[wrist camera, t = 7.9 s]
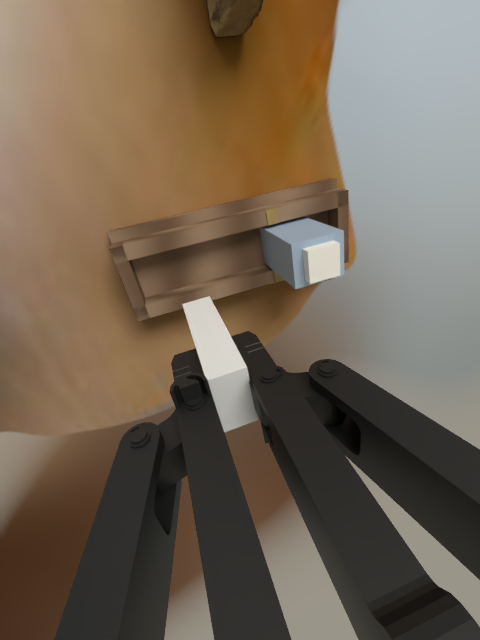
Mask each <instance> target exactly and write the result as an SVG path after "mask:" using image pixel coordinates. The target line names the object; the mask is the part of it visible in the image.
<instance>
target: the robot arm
mask: <svg viewBox="0 0 480 640" xmlns="http://www.w3.org/2000/svg"><path fill="white" fill-rule="evenodd" d="M182 305H183V308H184V312H185V315H186V318H187V321H188V324H189V328H190V331H191V334H192V337H193V341H194V344H195V347H196V349H193V350H190V351H186V352H183V353H180V354H177V355H175V356H174V358H173V360H172V363H171V365H172V370H173V376H174V382H173V384H172V385H171V387H170V394H171V396H172V399H173V401H174V404H175V407H176V410H175V411H174V413H173V414H172V415H171V416H170V417H169V418H168V419H167V420H165V421H164V422H162V423H160V424H159V425H156V424H153V423H150V422H148V423H141V424H138V425H136V426H134V427H132V428H131V429H129V430H128V431H127V433H125V434H124V436H123V437H122V439H121V441H120V444H119V447H118V450H117V453H116V456H115V459H114V462H113V465H112V468H111V471H110V474H109V477H108V480H107V483H106V486H105V489H104V492H103V495H102V498H101V501H100V504H99V507H98V510H97V513H96V516H95V519H94V522H93V525H92V528H91V531H90V534H89V537H88V540H87V543H86V546H85V549H84V552H83V555H82V558H81V561H80V564H79V567H78V570H77V573H76V576H75V579H74V582H73V586H72V588H71V591H70V594H69V597H68V600H67V603H66V606H65V609H64V612H63V615H62V618H61V621H60V624H59V627H58V630H57V633H56V637H55V640H164V635H165V626H166V617H167V608H168V599H169V590H170V581H171V573H172V563H173V554H174V546H175V537H176V528H177V518H178V509H179V501H180V492H181V484H182V483H181V479H182V478H184V477H185V476H186V475H187V476H188V481H189V488H190V494H191V500H192V505H193V512H194V518H195V524H196V531H197V537H198V543H199V548H200V555H201V561H202V567H203V573H204V579H205V585H206V591H207V597H208V604H209V609H210V615H211V622H212V627H213V634H214V640H291V637H290V634H289V631H288V628H287V625H286V622H285V619H284V616H283V612H282V609H281V606H280V603H279V600H278V597H277V594H276V591H275V588H274V585H273V582H272V579H271V575H270V572H269V569H268V566H267V563H266V560H265V557H264V554H263V551H262V548H261V545H260V541H259V538H258V535H257V532H256V529H255V526H254V523H253V520H252V517H251V514H250V511H249V507H248V504H247V501H246V498H245V495H244V492H243V489H242V486H241V483H240V480H239V477H238V474H237V471H236V467H235V464H234V461H233V458H232V455H231V452H230V449H229V446H228V443H227V440H226V436H225V433H224V432H227V431H230V430H232V429H235V428H238V427H240V426H243V425H246V424H249V423H251V422H254V421H257V420H258V416H259V418H260V421H261V425H262V430H263V434H264V439H265V443H269V445H270V448H271V450H272V452H273V454H274V456H275V458H276V461H277V463H278V465H279V467H280V469H281V471H282V474H283V476H284V478H285V480H286V482H287V485H288V487H289V489H290V491H291V493H292V495H293V498H294V500H295V502H296V504H297V506H298V508H299V511H300V513H301V515H302V517H303V519H304V522H305V524H306V526H307V528H308V530H309V532H310V535H311V537H312V539H313V541H314V543H315V546H316V548H317V550H318V552H319V554H320V556H321V559H322V561H323V563H324V565H325V567H326V570H327V572H328V574H329V576H330V578H331V580H332V583H333V585H334V587H335V589H336V591H337V593H338V596H339V598H340V600H341V602H342V604H343V607H344V609H345V611H346V613H347V615H348V617H349V620H350V622H351V624H352V626H353V628H354V630H355V633H356V635H357V637H358V639H359V640H480V627H479V626H478V624H477V623H476V622H475V620H474V619H473V618H472V616H471V615H470V614H469V613H468V611H467V610H466V609H465V608H464V606H463V605H462V604H461V603H460V602H459V601H458V600H457V599H456V598H455V597H454V596H453V595H452V594H451V593H449V592H447V591H445V590H443V589H442V588H440V587H438V586H437V585H436V584H435V583H434V582H433V581H432V579H431V578H430V577H429V575H428V574H427V573H426V571H425V570H424V569H423V567H422V566H421V564H420V563H419V561H418V560H417V559H416V557H415V556H414V554H413V553H412V551H411V550H410V548H409V547H408V546H407V544H406V543H405V541H404V540H403V538H402V537H401V536H400V534H399V533H398V531H397V530H396V528H395V527H394V525H393V524H392V523H391V521H390V520H389V518H388V517H387V515H386V514H385V513H384V511H383V510H382V508H381V507H380V505H379V504H378V502H377V501H376V500H375V498H374V497H373V495H372V494H371V492H370V491H369V490H368V488H367V487H366V485H365V484H364V482H363V481H362V480H361V478H360V477H359V475H358V474H357V472H356V471H355V470H354V468H353V467H352V465H351V464H350V462H349V461H348V459H347V458H346V457H345V455H346V456H347V457H348V458H349V459H350V460H351V461H352V462H353V463H354V464H355V465H356V466H357V467H358V468H360V469H361V470H362V471H363V472H364V473H365V474H366V475H367V476H368V477H369V478H370V479H372V481H374V482H375V483H376V484H377V485H378V486H379V487H380V488H381V489H382V490H383V491H385V493H387V494H388V495H389V496H390V497H391V498H392V499H393V500H394V501H395V502H396V503H397V504H399V505H400V506H401V507H402V508H403V509H404V510H405V511H406V512H407V513H408V514H409V515H410V516H411V517H412V518H414V519H415V520H416V521H417V522H418V523H419V524H420V525H421V526H422V527H423V528H424V529H425V530H426V531H428V532H429V533H430V534H431V535H432V536H433V537H434V538H435V539H436V540H437V541H438V542H439V543H441V544H442V545H443V546H444V547H445V548H446V549H447V550H448V551H449V552H450V553H451V554H452V555H453V556H455V557H456V558H457V559H458V560H459V561H460V562H461V563H462V564H463V565H464V566H466V568H468V569H469V570H470V571H471V572H472V573H473V574H474V575H475V576H476V577H477V578H478V579H480V450H479V449H478V448H476V447H475V446H473V445H471V444H470V443H468V442H467V441H465V440H463V439H462V438H460V437H459V436H457V435H455V434H454V433H452V432H451V431H449V430H447V429H446V428H444V427H442V426H441V425H439V424H438V423H436V422H435V421H433V420H431V419H430V418H428V417H427V416H425V415H424V414H422V413H420V412H419V411H417V410H416V409H414V408H412V407H411V406H409V405H408V404H406V403H404V402H403V401H401V400H400V399H398V398H396V397H395V396H393V395H392V394H390V393H388V392H387V391H385V390H384V389H382V388H380V387H379V386H377V385H376V384H374V383H372V382H371V381H369V380H367V379H366V378H365V377H363V376H361V375H360V374H358V373H357V372H355V371H353V370H351V369H350V368H348V367H347V366H345V365H344V364H342V363H340V362H338V361H336V360H331V359H324V360H319V361H316V362H315V363H313V364H312V365H311V366H310V369H309V372H303V373H289V372H286V371H285V370H284V369H283V368H282V367H279V366H276V364H275V363H274V362H273V360H272V358H271V357H270V355H269V354H268V353H267V351H266V350H265V348H264V346H263V345H262V343H260V340H259V339H258V337H257V336H256V335H255V334H253V333H251V332H249V331H247V332H244V333H241V334H237V335H234V336H230V334H229V332H228V330H227V328H226V326H225V324H224V322H223V321H222V319H221V317H220V315H219V313H218V311H217V309H216V307H215V305H214V304H213V302H212V300H211V298H210V296H208V297H205V298H201V299H198V300H194V301H191V302H188V303H184V304H182ZM257 414H258V416H257Z"/></svg>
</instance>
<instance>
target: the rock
mask: <svg viewBox="0 0 480 640" xmlns="http://www.w3.org/2000/svg"><path fill="white" fill-rule="evenodd" d="M262 3H263V0H207V6H208V11H209V19H210V24H211V27H212V28H213V31H214V33H215V36H217V37H224V36H237V35H242V34H244V33H245V32H246V31H247V30H248V29H249V28H250V27H251V25H252V23H253V20H254V19H255V18H256V17H257V16H258V14H259V12H260V11H261V7H262Z"/></svg>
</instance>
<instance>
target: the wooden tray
mask: <svg viewBox="0 0 480 640" xmlns="http://www.w3.org/2000/svg"><path fill="white" fill-rule="evenodd" d="M303 216H304V217H306V218H309V219H312V220H315V221H318V222H321V223H323V224H326V225H329V226H332V227H335V228H338V229H341V230H343V231H344V263H346V262H349V244H348V190H343V189H337V179H327V180H322V181H318V182H314V183H310V184H305V185H301V186H297V187H293V188H289V189H284V190H280V191H276V192H272V193H268V194H263V195H259V196H255V197H251V198H246V199H242V200H238V201H234V202H230V203H225V204H221V205H217V206H213V207H208V208H204V209H200V210H196V211H192V212H187V213H183V214H179V215H175V216H171V217H166V218H162V219H158V220H154V221H149V222H145V223H141V224H137V225H133V226H128V227H124V228H120V229H116V230H111V231H109V232H108V236H109V238H110V241H111V243H112V244H111V246H110V248H109V250H110V252H111V254H112V257H113V259H114V262H115V264H116V267H117V269H118V272H119V274H120V277H121V279H122V282H123V284H124V287H125V289H126V292H127V294H128V297H129V299H130V302H131V304H132V307H133V309H134V312H135V314H136V317H137V319H138V321H141V320H144V319H148V318H152V317H155V316H159V315H162V314H166V313H169V312H173V311H176V310H180V309H183V305H182V304H184V303H188V302H191V301H194V300H198V299H201V298H205V297H208V296H210V298H211V300H215V299H219V298H222V297H226V296H229V295H233V294H236V293H240V292H244V291H247V290H251V289H254V288H258V287H261V286H265V285H268V284H273V283H277V282H281V281H285V280H284V279H283V278H282V277H281V276H279V275H278V274H277V273H276V272H275V271H274V270H272V269H271V268H270V267H269V266H268V265H267V264H265V263H264V257H263V250H262V243H261V236H260V229H259V227H263V226H267V225H268V226H269V225H273V224H277V223H279V222H283V221H287V220H291V219H295V218H299V217H303Z"/></svg>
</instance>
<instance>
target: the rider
mask: <svg viewBox="0 0 480 640" xmlns="http://www.w3.org/2000/svg"><path fill="white" fill-rule="evenodd" d="M259 229H260V236H261V243H262V250H263V257H264V263H265V264H267V265H268V266H269V267H270V268H271V269H272V270H274V271H275V272H276V273H277V274H278V275H279V276H281V277H282V278H283V279H284V280H285V281H286V282H288V283H289V284H290V285H291V286H292V287H293V288H294V289H299V288H302V287H306V286H309V285H313V284H316V283H320V282H323V281H326V280H330V279H333V278H337V277H340V276H344V231H343V230H341V229H338V228H335V227H332V226H329V225H326V224H323V223H321V222H318V221H315V220H312V219H309V218H306V217H304V216H303V217H299V218H295V219H291V220H287V221H283V222H279V223H277V224H273V225H269V226H268V225H267V226H263V227H259Z"/></svg>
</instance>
